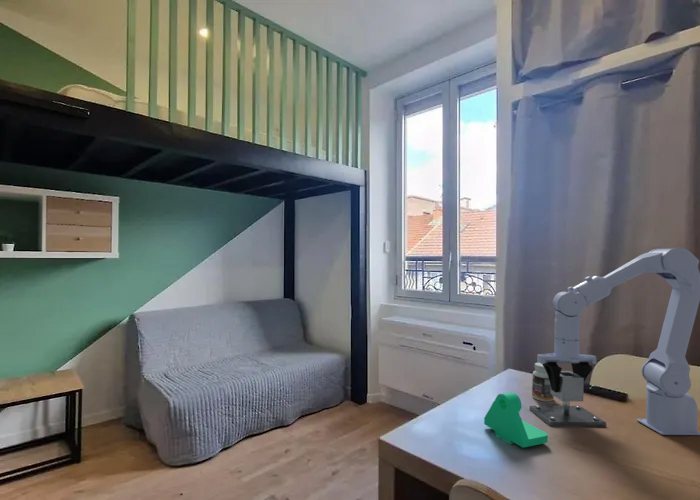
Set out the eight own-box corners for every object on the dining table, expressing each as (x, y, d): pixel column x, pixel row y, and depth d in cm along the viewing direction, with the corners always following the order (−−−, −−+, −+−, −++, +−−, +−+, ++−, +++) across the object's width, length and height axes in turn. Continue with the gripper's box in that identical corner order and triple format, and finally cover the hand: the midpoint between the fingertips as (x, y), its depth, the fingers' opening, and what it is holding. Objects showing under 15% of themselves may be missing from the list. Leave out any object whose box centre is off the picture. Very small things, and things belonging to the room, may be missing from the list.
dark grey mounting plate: (580, 409, 105) (580, 387, 105) (605, 426, 95) (606, 401, 95) (529, 409, 104) (529, 387, 104) (549, 426, 94) (550, 401, 94)
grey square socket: (570, 393, 102) (570, 370, 102) (583, 401, 97) (583, 377, 97) (550, 393, 102) (550, 370, 102) (562, 401, 97) (562, 377, 97)
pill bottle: (527, 396, 115) (528, 362, 115) (543, 394, 116) (543, 361, 116) (542, 403, 109) (543, 368, 109) (558, 401, 111) (559, 366, 111)
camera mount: (549, 446, 84) (550, 399, 85) (523, 452, 82) (523, 404, 82) (509, 424, 96) (509, 382, 96) (484, 428, 93) (484, 385, 93)
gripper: (547, 341, 96) (547, 396, 95) (604, 342, 96) (604, 397, 96) (533, 335, 103) (532, 386, 103) (586, 336, 103) (586, 387, 103)
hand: (566, 391), depth 100 cm, fingers closed on grey square socket, 5 cm apart
